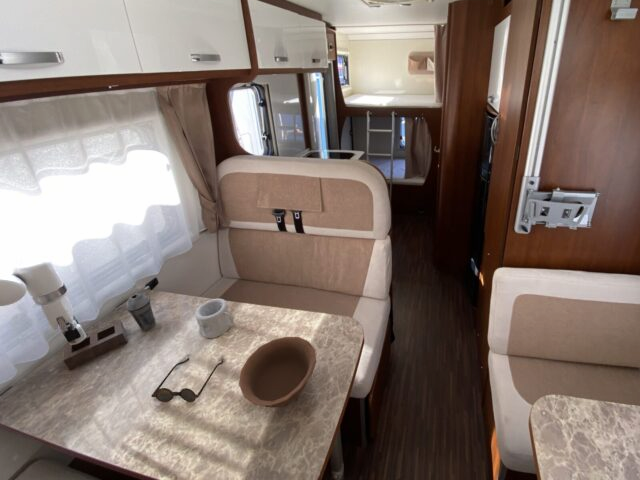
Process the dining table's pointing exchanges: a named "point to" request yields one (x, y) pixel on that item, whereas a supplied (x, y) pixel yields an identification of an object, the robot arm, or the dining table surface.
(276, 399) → the bowl
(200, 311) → the mug
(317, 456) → the dining table surface
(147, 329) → the beverage cup
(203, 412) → the dining table surface
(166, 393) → the eyeglasses
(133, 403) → the dining table surface
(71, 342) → the pill bottle
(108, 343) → the holder
